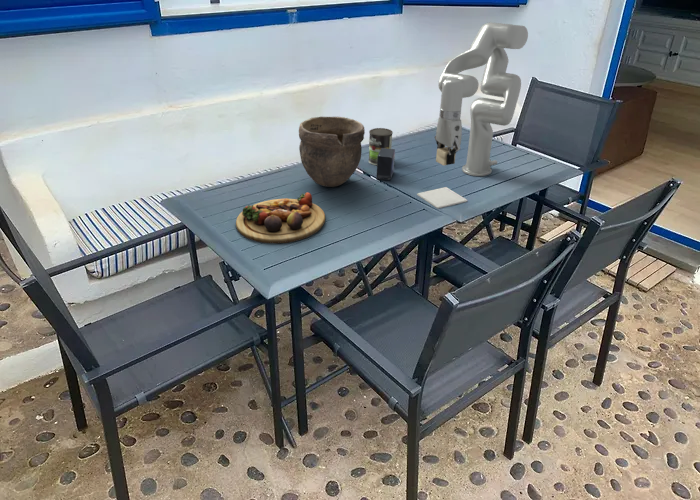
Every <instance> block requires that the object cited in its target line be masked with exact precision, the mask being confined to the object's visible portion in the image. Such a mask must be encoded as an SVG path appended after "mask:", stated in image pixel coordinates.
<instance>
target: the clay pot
mask: <svg viewBox="0 0 700 500" xmlns="http://www.w3.org/2000/svg"><path fill="white" fill-rule="evenodd" d="M365 131H366V130H365V126H364V124H363V123H362V122H360V121H359V120H355V119H353V118H348V117H345V116H317V117H316V116H315V117H311V118H308V119H305V120H303V121H302V122H300V123H299V127H298V136H299V141H300V142H299V147H298V149H299V155H300V156H299V157H300V161H301V164H302V166H303V168H304V170H305V172H306V173H307V175H308V176H309V177H310V179H311V180H312V181H313V182H314V183H316V184H318V185H320V186H322V187H329V188H331V187H332V188H334V187H339V186H341V185H343V184H344V183H346V182H347V181H348V180H349V179H350V178H351V176H352V175H353V174H354V173H355V172H356V170H357V168H358V167H359V165H360V162H361V159H362V148H363V147H362V142H363V141H364V139H365V133H366V132H365Z"/></svg>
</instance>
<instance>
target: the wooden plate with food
mask: <svg viewBox="0 0 700 500" xmlns="http://www.w3.org/2000/svg"><path fill="white" fill-rule="evenodd" d="M299 195H300V196H299V197H298V196H297V198H278V199H277V198H274V199H268V200H264V201H261V202H257V203H253V204H252V205H250V204H248V205H246V206H245V207H243V209H242V211H241V212H239V215H238V216H237V217H236V220H235V228H236V230H237V231H238V233H239V234H240V235H242V236H243V237H244V238H246V239H248V240H251V241H253V242H259V243H264V244H286V243H292V242H293V243H294V242H297V241H301V240H304V239H307V238H309V237H311V236H313V235H314V234H316V233H318V232H319V231H320V230H322V228H323V226H324V224H325V222H326V214H325V211H324V210H323V209H322V208H321V207H320V206H318V204H316V203H313V196H312V194H311V193H310V192H305V193H301V194H299Z"/></svg>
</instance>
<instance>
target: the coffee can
mask: <svg viewBox="0 0 700 500" xmlns="http://www.w3.org/2000/svg"><path fill="white" fill-rule="evenodd" d="M368 132H369V140H368V141H369V143H368V146H369V147H368V163H369V164H371V165H373V166H377V156H378V154H379V152H380V150H381V148H388V149H393V147H392V145H393V133H394V132H393V131H392V130H391V129H389V128H384V127H376V128H371V129H370V130H369V131H368Z"/></svg>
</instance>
